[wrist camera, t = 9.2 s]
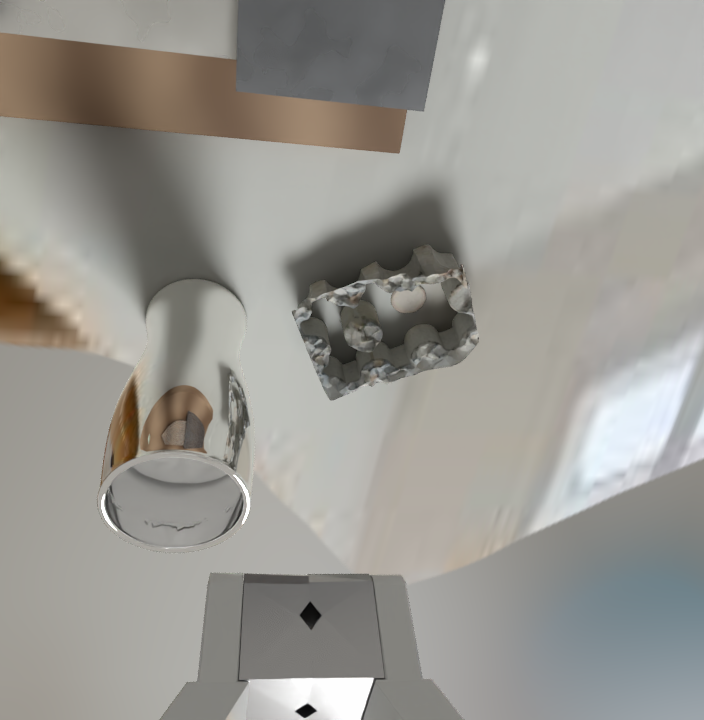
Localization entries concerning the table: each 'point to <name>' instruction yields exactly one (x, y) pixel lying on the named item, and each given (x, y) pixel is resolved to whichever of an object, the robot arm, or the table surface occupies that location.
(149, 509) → the beer glass
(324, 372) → the egg carton
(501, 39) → the table surface
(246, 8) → the sleeve
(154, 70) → the base board
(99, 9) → the light grey bar piece
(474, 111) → the table surface
